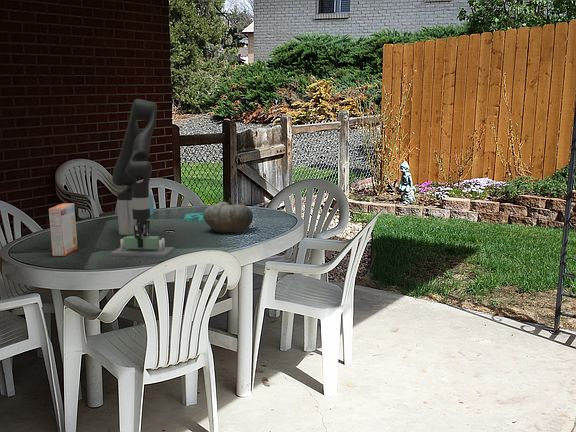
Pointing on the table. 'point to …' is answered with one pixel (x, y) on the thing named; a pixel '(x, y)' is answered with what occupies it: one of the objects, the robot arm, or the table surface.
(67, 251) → the cracker box
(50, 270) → the table surface
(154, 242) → the green rectangular block
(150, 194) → the light blue block
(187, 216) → the alien figure
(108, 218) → the table surface
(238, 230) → the gourd
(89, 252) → the table surface
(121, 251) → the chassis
